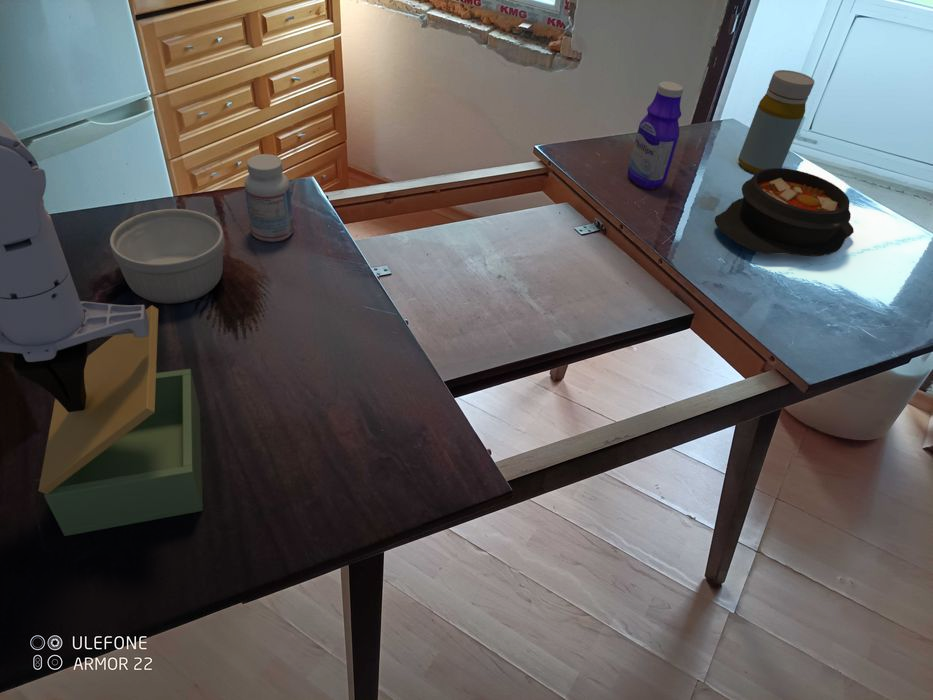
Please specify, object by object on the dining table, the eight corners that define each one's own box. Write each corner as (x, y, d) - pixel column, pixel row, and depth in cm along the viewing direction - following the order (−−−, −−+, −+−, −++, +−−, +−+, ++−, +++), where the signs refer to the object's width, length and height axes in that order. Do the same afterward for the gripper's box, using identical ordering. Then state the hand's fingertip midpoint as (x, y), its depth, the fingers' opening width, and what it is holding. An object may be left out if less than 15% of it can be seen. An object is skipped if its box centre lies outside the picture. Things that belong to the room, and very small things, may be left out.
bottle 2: (728, 163, 134) (762, 73, 122) (751, 154, 138) (785, 66, 127) (764, 180, 129) (802, 88, 118) (787, 171, 134) (826, 81, 122)
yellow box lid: (158, 309, 64) (151, 304, 64) (155, 412, 55) (146, 407, 54) (65, 383, 66) (58, 379, 66) (46, 494, 57) (37, 491, 56)
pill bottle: (266, 217, 103) (258, 147, 96) (301, 228, 102) (296, 158, 95) (242, 236, 99) (231, 164, 92) (278, 247, 98) (271, 175, 90)
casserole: (767, 279, 103) (789, 231, 98) (686, 218, 115) (702, 172, 110) (875, 250, 113) (901, 205, 107) (790, 197, 125) (810, 154, 120)
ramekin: (242, 257, 95) (235, 213, 91) (213, 315, 85) (204, 269, 81) (145, 248, 95) (133, 203, 90) (104, 306, 85) (89, 259, 80)
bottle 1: (619, 175, 125) (644, 79, 114) (643, 170, 128) (670, 76, 116) (645, 193, 121) (673, 95, 109) (669, 188, 123) (699, 92, 112)
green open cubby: (199, 408, 73) (190, 368, 70) (202, 510, 64) (192, 471, 60) (80, 425, 70) (63, 384, 66) (64, 536, 61) (43, 496, 57)
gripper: (-105, 320, 46) (-28, 451, 55) (128, 297, 50) (165, 422, 59) (-78, 262, 51) (-11, 391, 60) (133, 245, 55) (166, 368, 64)
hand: (77, 403), depth 60 cm, fingers closed
